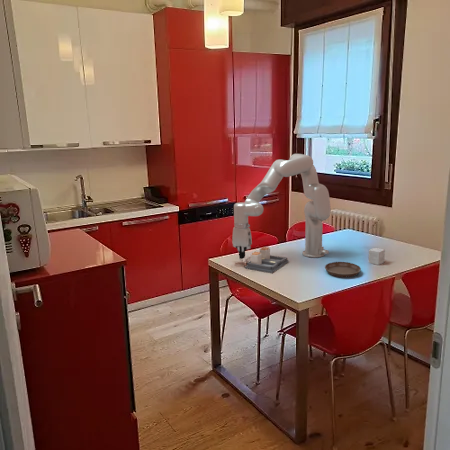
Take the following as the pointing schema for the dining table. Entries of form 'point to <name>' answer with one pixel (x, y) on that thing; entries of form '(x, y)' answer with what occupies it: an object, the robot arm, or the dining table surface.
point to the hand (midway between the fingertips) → (242, 258)
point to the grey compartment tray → (268, 264)
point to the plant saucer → (342, 269)
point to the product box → (376, 256)
